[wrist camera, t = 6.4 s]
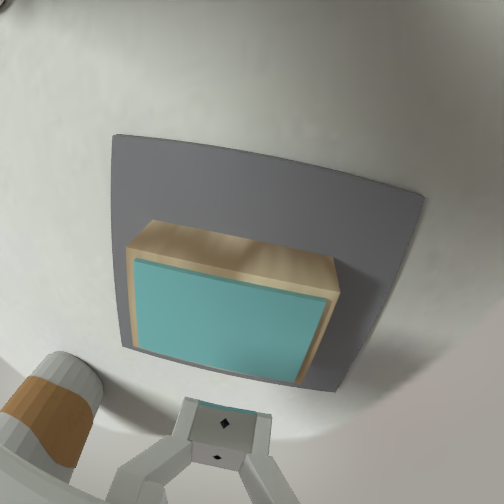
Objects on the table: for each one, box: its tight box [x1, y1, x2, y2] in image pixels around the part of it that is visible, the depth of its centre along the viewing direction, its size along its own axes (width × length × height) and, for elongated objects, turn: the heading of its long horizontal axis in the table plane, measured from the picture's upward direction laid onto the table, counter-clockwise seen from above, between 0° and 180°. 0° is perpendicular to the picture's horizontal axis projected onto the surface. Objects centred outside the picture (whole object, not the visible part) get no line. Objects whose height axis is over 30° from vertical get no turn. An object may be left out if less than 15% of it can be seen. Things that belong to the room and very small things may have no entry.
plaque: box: [126, 220, 340, 384], centre depth 15 cm, size 3×6×9 cm
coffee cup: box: [0, 351, 103, 484], centre depth 17 cm, size 8×8×15 cm
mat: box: [111, 134, 425, 392], centre depth 17 cm, size 15×14×1 cm
